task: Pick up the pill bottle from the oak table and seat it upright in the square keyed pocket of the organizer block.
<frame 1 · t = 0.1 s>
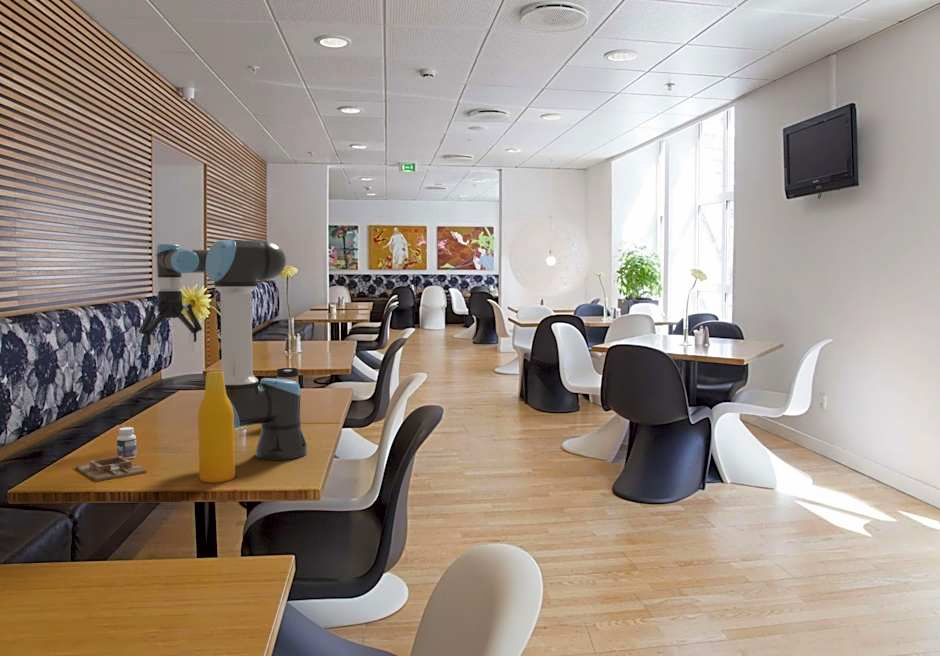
hand: (171, 353, 256), 28 cm above the table, fingers open, 13 cm apart
beer bottle: (217, 479, 205), on the table
pill bottle: (127, 458, 227), on the table
organizer: (110, 470, 213), on the table
travel mug: (288, 423, 278), on the table
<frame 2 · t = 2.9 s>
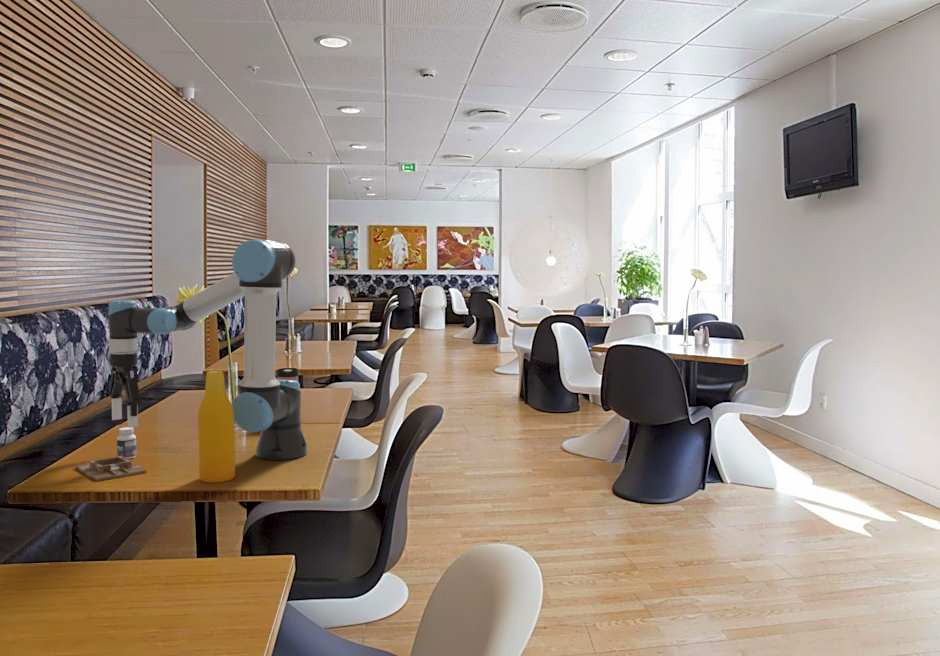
hand: (124, 423, 227), 10 cm above the table, fingers open, 13 cm apart
nothing on the table moved.
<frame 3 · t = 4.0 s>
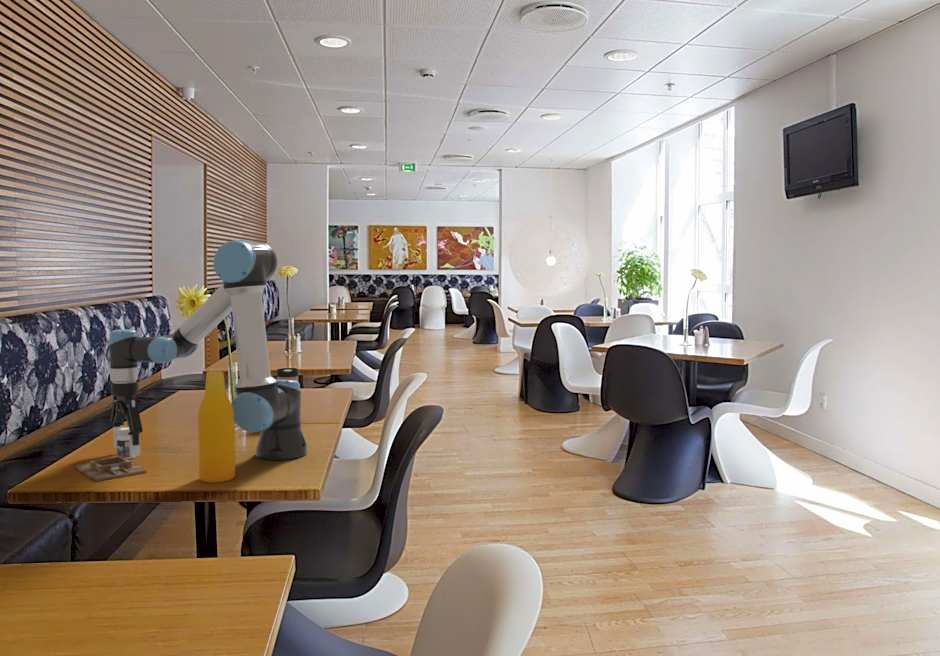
hand: (126, 451, 227), 2 cm above the table, fingers open, 13 cm apart
nothing on the table moved.
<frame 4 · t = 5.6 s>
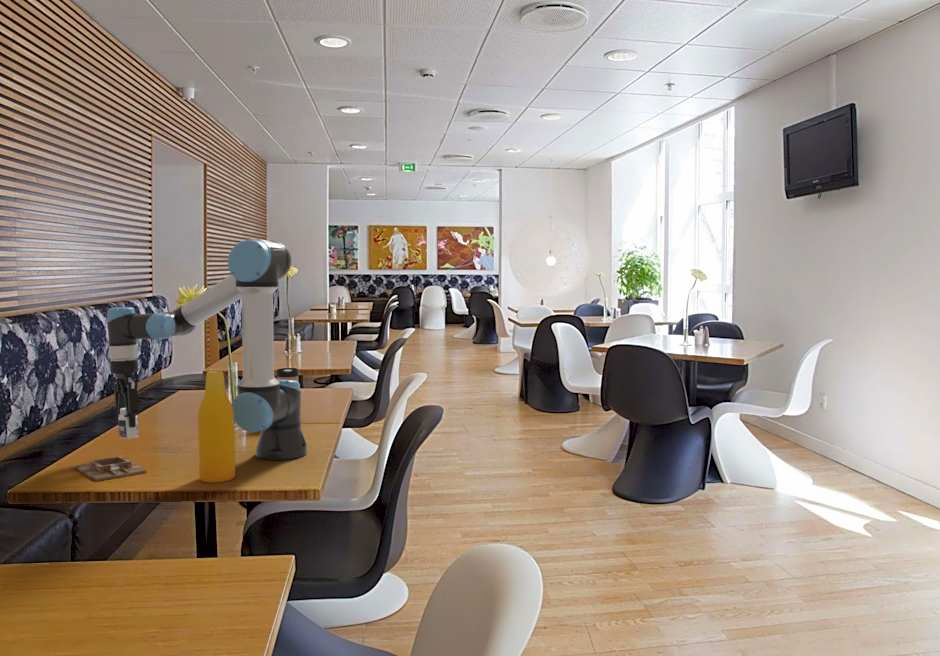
hand: (128, 436, 227), 6 cm above the table, fingers closed on pill bottle, 5 cm apart
pill bottle: (129, 438, 227), point 6 cm above the table, touching gripper
everything else where it was.
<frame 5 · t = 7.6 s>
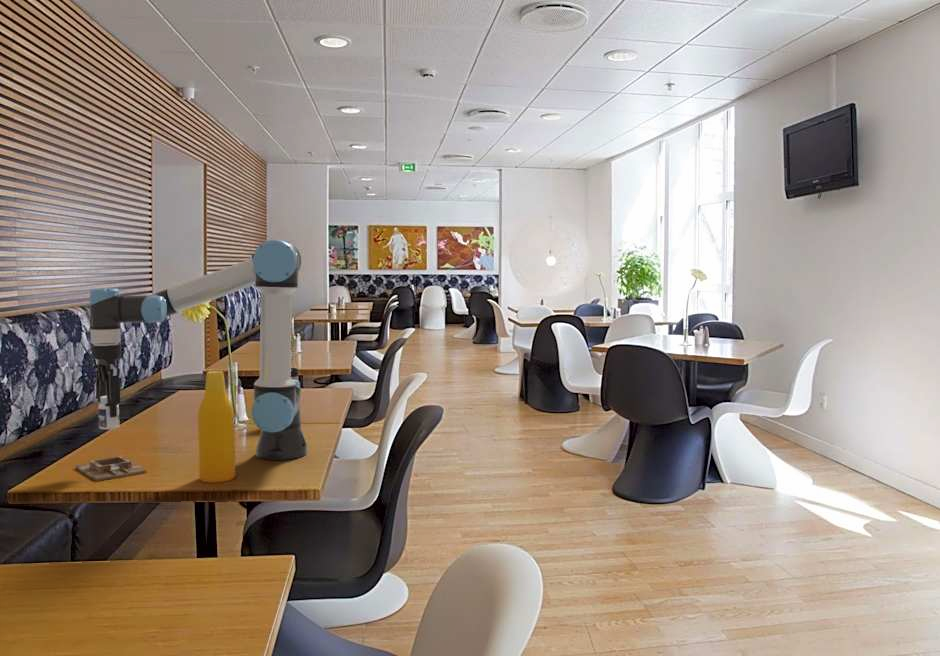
hand: (108, 426, 212), 12 cm above the table, fingers closed on pill bottle, 5 cm apart
pill bottle: (109, 428, 212), point 12 cm above the table, touching gripper
everything else where it was.
when the fingers open (3 cm above the table, at t = 9.8 s): pill bottle drops 2 cm, resting on organizer.
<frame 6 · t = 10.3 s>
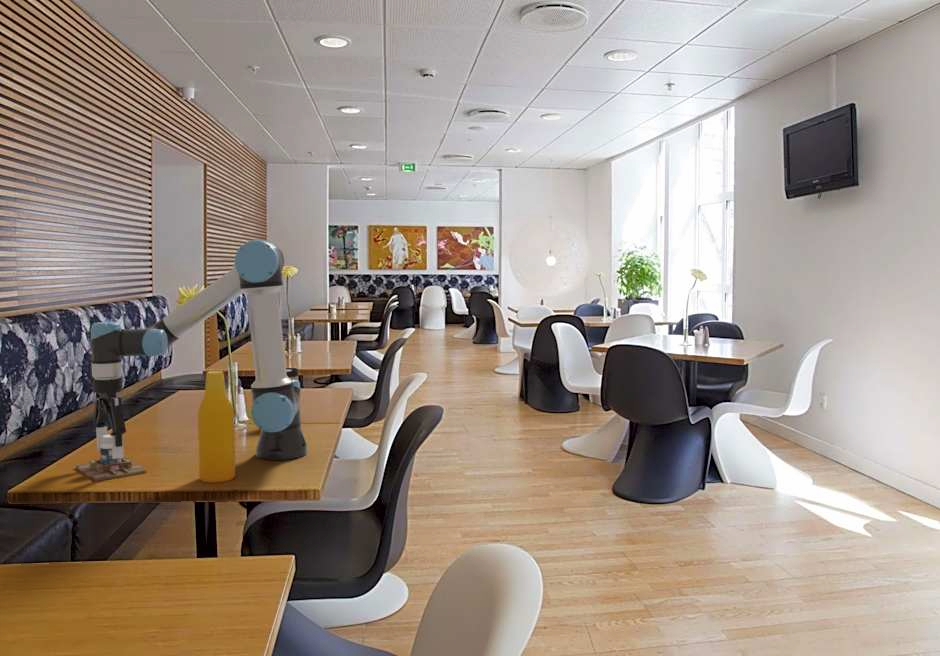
hand: (110, 453, 212), 5 cm above the table, fingers open, 12 cm apart
pill bottle: (111, 467, 213), point 1 cm above the table, touching organizer
everything else where it was.
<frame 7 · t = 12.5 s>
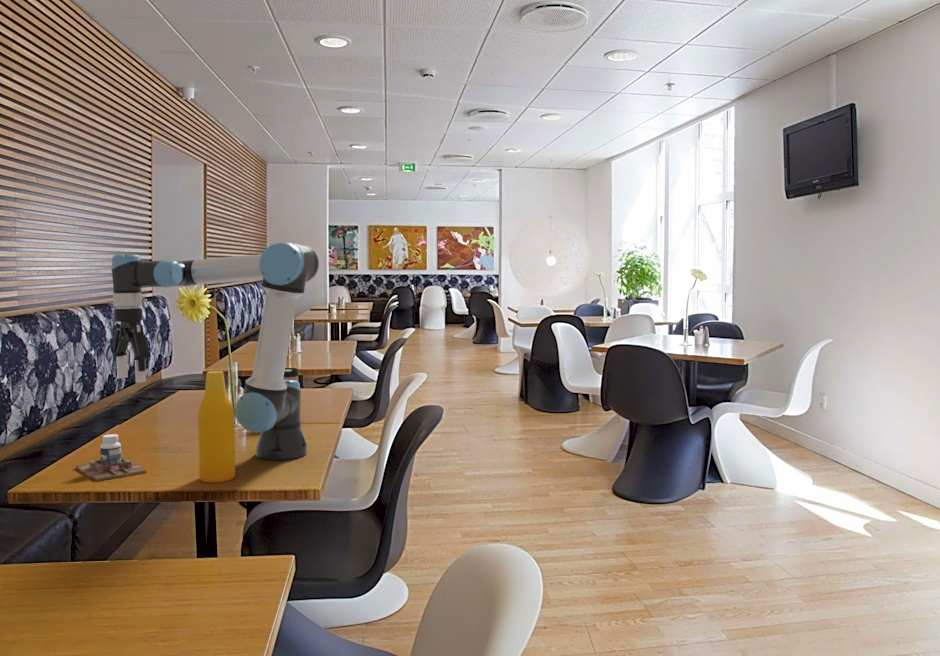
hand: (131, 380, 222), 24 cm above the table, fingers open, 13 cm apart
nothing on the table moved.
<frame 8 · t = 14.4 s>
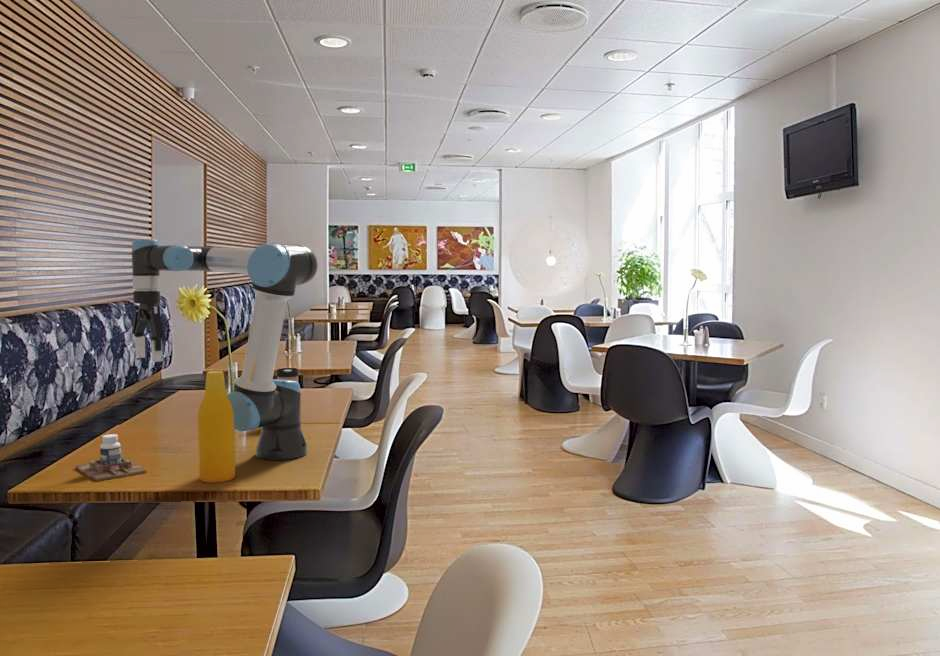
hand: (148, 359, 232), 29 cm above the table, fingers open, 13 cm apart
nothing on the table moved.
at the end: pill bottle 0.2 cm off-centre on the organizer, point 0.8 cm above the organizer's base; pill bottle tilted 0°; the gripper is holding nothing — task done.
